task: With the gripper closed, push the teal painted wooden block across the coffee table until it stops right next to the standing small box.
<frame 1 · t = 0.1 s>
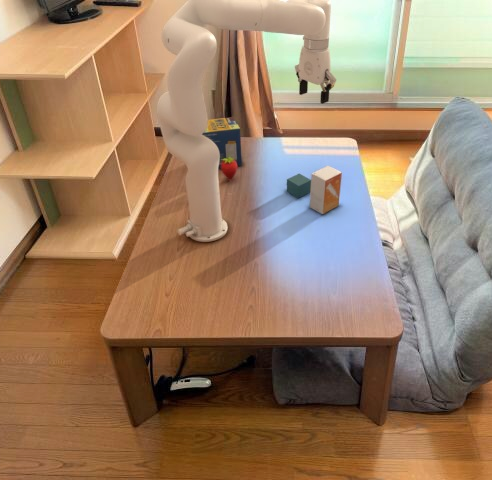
hand: (313, 98, 158), 31 cm above the table, tool pointing down, fingers open, 9 cm apart
strawberry: (230, 180, 178), on the table
teal block: (298, 191, 171), on the table
small box: (324, 207, 164), on the table
protein box: (219, 162, 188), on the table
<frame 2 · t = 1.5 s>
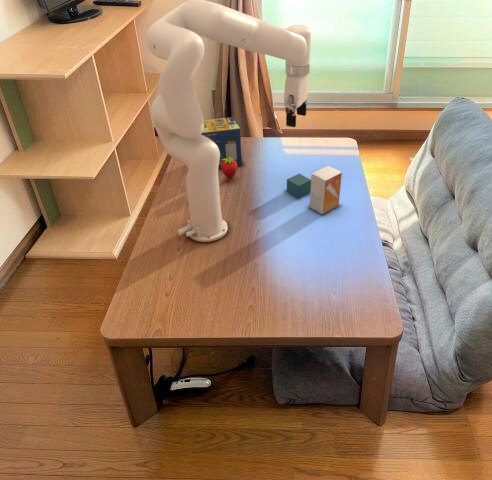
hand: (296, 120, 162), 24 cm above the table, tool pointing down, fingers open, 9 cm apart
nothing on the table moved.
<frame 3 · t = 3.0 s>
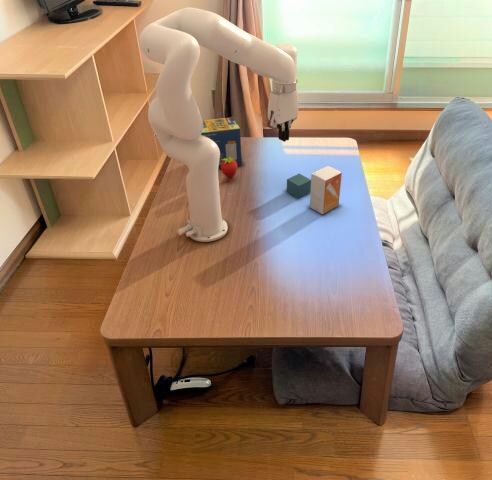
hand: (283, 139, 166), 17 cm above the table, tool pointing down, fingers closed
nothing on the table moved.
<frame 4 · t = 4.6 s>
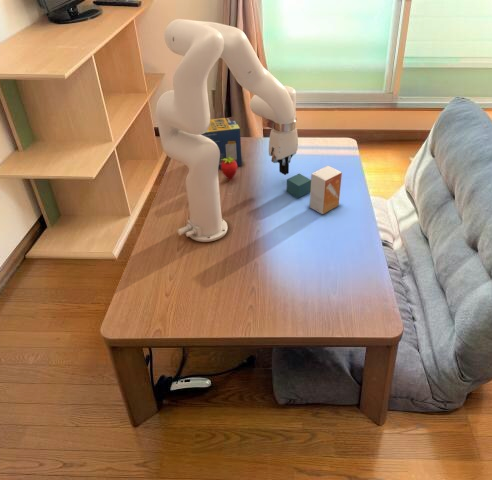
hand: (284, 172, 174), 4 cm above the table, tool pointing down, fingers closed
nothing on the table moved.
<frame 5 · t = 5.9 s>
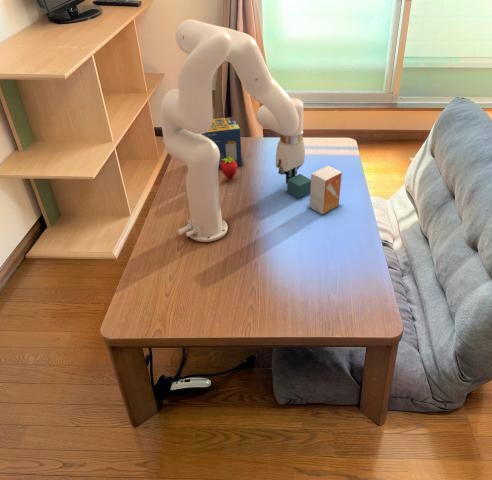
hand: (290, 184, 173), 1 cm above the table, tool pointing down, fingers closed
teal block: (299, 192, 171), on the table, touching gripper
everything else where it was.
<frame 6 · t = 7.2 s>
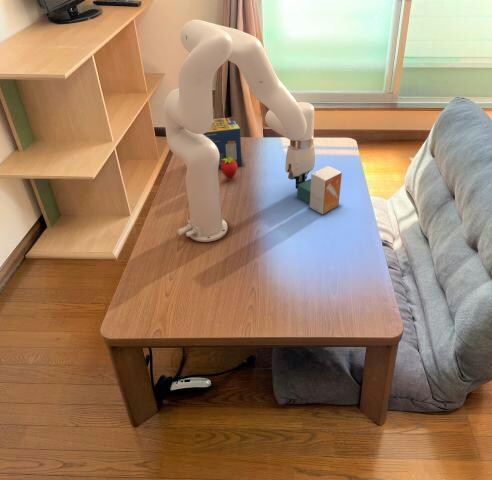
hand: (300, 189, 170), 1 cm above the table, tool pointing down, fingers closed
teal block: (309, 197, 169), on the table, touching gripper
everything else where it was.
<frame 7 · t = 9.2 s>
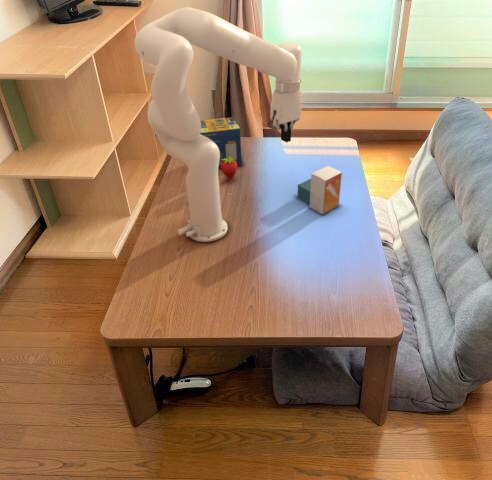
hand: (285, 140, 162), 18 cm above the table, tool pointing down, fingers closed
teal block: (309, 197, 169), on the table
everything else where it was.
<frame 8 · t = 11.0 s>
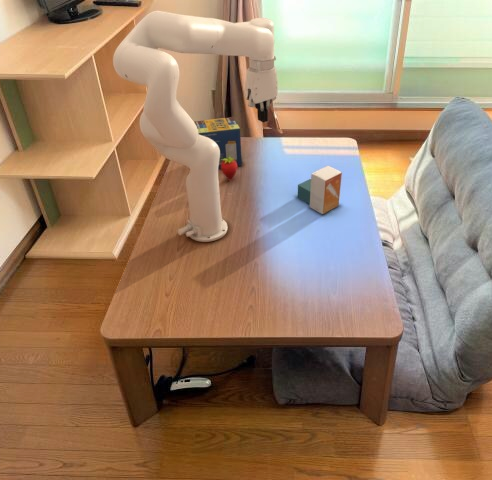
hand: (262, 120, 158), 25 cm above the table, tool pointing down, fingers closed
nothing on the table moved.
at the end: teal block 7.3 cm from the small box (horizontally); small box moved 0.2 cm from its start; teal block tilted 0° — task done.
